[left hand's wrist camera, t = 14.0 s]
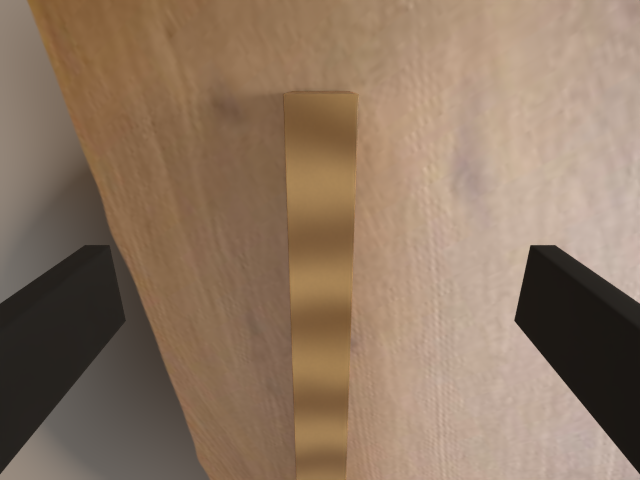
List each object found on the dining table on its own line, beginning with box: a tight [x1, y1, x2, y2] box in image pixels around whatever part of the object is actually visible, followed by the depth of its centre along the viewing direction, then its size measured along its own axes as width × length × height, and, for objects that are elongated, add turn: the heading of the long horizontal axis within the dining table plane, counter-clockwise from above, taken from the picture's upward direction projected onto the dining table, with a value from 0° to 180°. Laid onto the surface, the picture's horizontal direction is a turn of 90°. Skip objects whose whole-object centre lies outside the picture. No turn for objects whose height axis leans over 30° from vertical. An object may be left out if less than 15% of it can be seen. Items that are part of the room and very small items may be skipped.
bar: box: [283, 91, 358, 480], centre depth 41 cm, size 55×5×9 cm, turn 0°
